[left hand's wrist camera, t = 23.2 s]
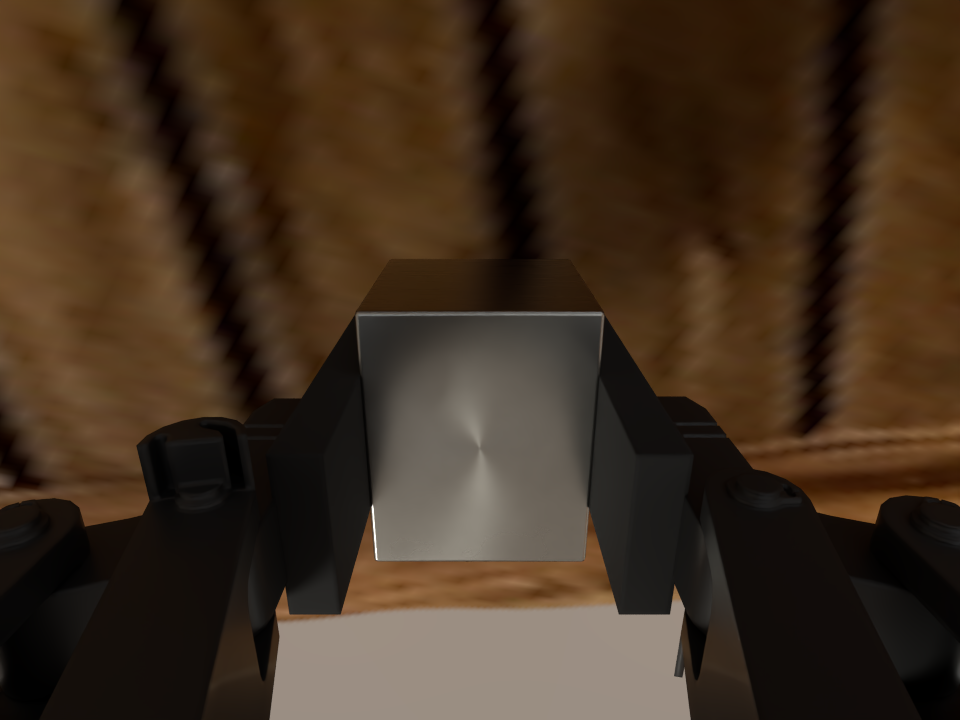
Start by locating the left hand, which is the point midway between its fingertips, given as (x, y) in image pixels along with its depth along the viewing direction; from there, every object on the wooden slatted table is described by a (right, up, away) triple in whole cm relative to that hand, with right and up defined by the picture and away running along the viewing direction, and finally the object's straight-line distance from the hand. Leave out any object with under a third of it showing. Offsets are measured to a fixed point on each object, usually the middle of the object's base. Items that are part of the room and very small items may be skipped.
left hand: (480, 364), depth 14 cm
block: (0, 0, 0) cm, 0 cm away
